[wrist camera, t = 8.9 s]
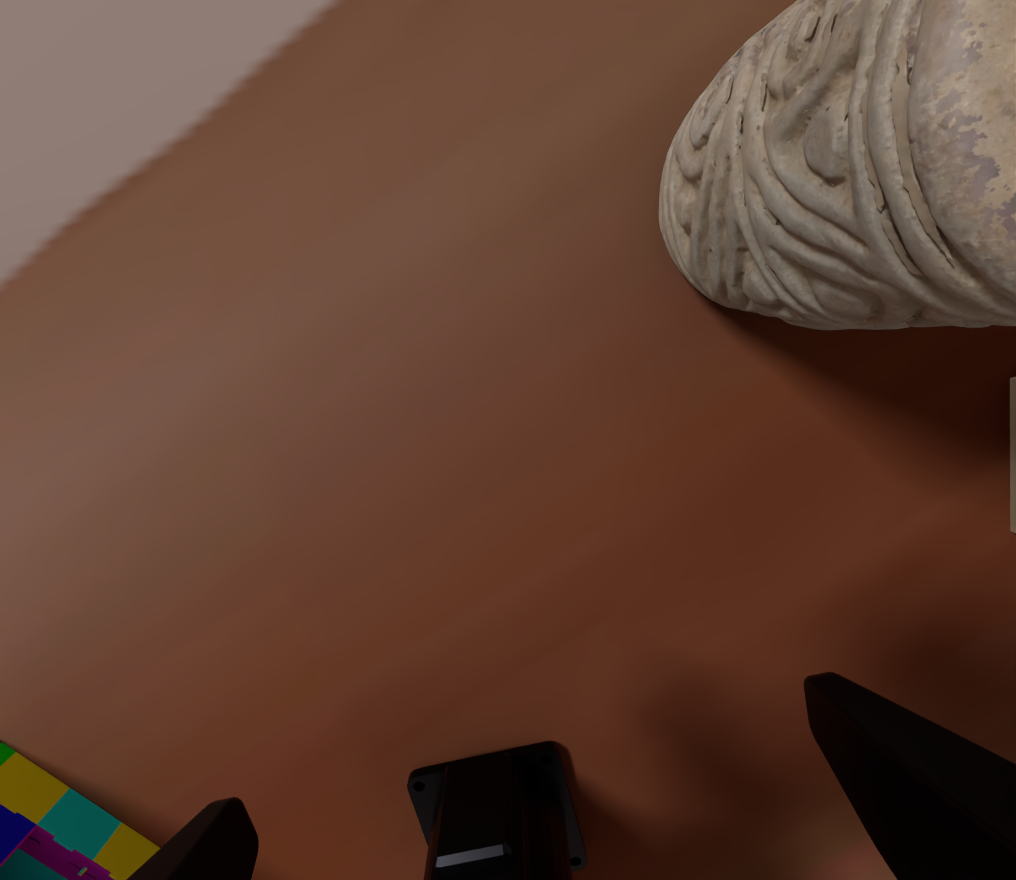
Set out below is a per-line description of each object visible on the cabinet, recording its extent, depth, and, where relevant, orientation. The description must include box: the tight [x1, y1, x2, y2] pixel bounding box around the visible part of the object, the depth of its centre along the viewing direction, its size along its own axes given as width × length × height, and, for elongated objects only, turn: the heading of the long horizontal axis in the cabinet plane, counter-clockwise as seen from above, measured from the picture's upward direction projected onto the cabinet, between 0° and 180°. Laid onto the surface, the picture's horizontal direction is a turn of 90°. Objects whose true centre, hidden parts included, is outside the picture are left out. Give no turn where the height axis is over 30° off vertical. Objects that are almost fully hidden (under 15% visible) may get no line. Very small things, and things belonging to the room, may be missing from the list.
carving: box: [659, 0, 1016, 330], centre depth 12 cm, size 6×8×12 cm
